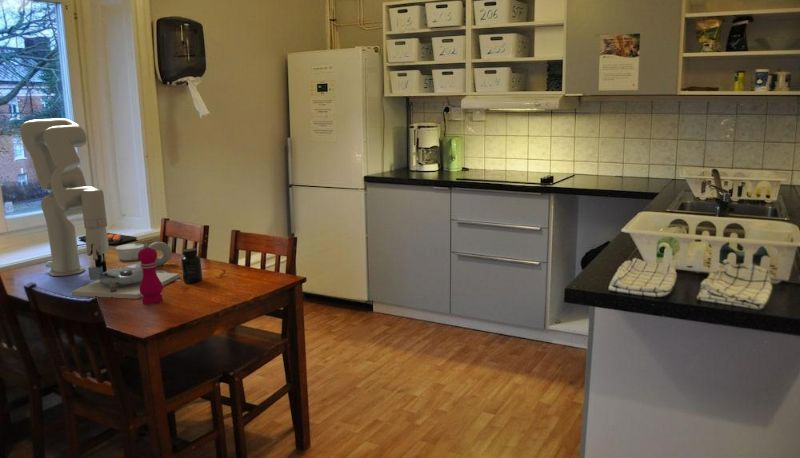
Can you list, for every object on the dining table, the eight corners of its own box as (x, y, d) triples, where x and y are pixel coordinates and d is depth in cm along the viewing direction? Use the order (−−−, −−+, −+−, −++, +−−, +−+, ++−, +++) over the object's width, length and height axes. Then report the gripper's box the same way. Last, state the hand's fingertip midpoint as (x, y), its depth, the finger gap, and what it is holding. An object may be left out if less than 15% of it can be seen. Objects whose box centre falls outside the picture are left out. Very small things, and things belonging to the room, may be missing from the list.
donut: (148, 268, 263) (145, 244, 260) (145, 267, 265) (143, 242, 263) (173, 264, 268) (171, 240, 266) (170, 262, 271) (168, 239, 269)
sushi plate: (140, 241, 316) (139, 233, 315) (81, 255, 291) (80, 246, 290) (103, 235, 331) (102, 228, 330) (44, 248, 307) (43, 240, 306)
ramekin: (151, 256, 283) (149, 244, 281) (128, 262, 273) (126, 250, 272) (134, 254, 288) (133, 242, 287) (111, 259, 279) (110, 247, 278)
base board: (71, 295, 230) (70, 287, 229) (119, 275, 254) (118, 268, 254) (137, 298, 224) (136, 290, 223) (179, 277, 248) (178, 270, 248)
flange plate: (160, 270, 247) (159, 259, 246) (141, 284, 229) (139, 272, 228) (102, 272, 248) (101, 260, 247) (79, 286, 230) (77, 273, 229)
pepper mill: (144, 298, 223) (138, 241, 219) (166, 297, 224) (160, 240, 220) (138, 305, 216) (131, 246, 212) (160, 304, 217) (154, 245, 213)
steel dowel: (109, 292, 227) (107, 282, 226) (112, 290, 229) (111, 280, 228) (114, 292, 227) (112, 282, 226) (117, 290, 229) (116, 280, 228)
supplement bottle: (206, 279, 245) (203, 248, 242) (195, 284, 239) (192, 252, 236) (190, 278, 247) (187, 247, 245) (179, 283, 241) (176, 251, 238)
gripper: (91, 219, 245) (97, 267, 249) (77, 227, 230) (83, 278, 234) (112, 218, 246) (118, 266, 249) (99, 226, 231) (105, 277, 235)
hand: (101, 271), depth 242 cm, fingers closed
